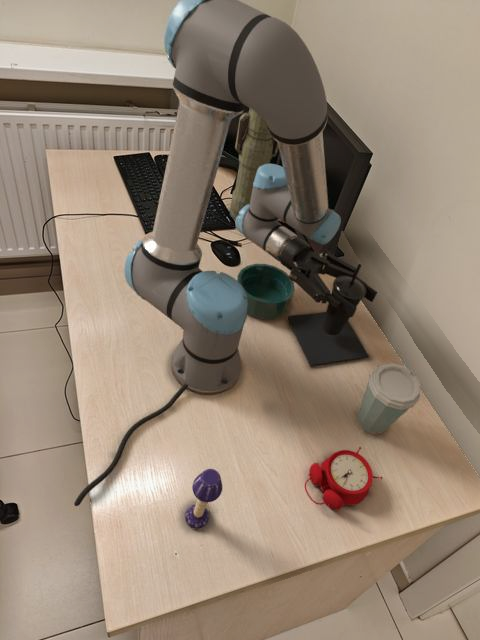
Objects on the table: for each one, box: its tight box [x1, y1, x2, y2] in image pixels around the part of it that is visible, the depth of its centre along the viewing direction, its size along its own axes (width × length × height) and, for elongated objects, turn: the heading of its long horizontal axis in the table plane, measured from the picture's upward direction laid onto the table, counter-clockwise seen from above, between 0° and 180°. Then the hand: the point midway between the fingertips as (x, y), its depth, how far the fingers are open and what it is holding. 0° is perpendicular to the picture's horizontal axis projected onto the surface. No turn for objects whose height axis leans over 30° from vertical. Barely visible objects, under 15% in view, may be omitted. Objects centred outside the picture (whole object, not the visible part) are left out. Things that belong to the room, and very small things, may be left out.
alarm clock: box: [304, 446, 383, 511], centre depth 89 cm, size 10×6×15 cm
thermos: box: [229, 108, 279, 221], centre depth 131 cm, size 9×12×35 cm
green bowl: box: [236, 263, 296, 320], centre depth 118 cm, size 15×15×6 cm
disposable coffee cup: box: [357, 362, 421, 435], centre depth 96 cm, size 11×11×15 cm
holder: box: [286, 311, 370, 368], centre depth 116 cm, size 16×16×1 cm
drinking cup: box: [322, 263, 366, 335], centre depth 106 cm, size 8×8×20 cm
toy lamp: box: [184, 468, 223, 530], centre depth 75 cm, size 5×5×17 cm
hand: (364, 304), depth 103 cm, fingers closed on drinking cup, 8 cm apart
